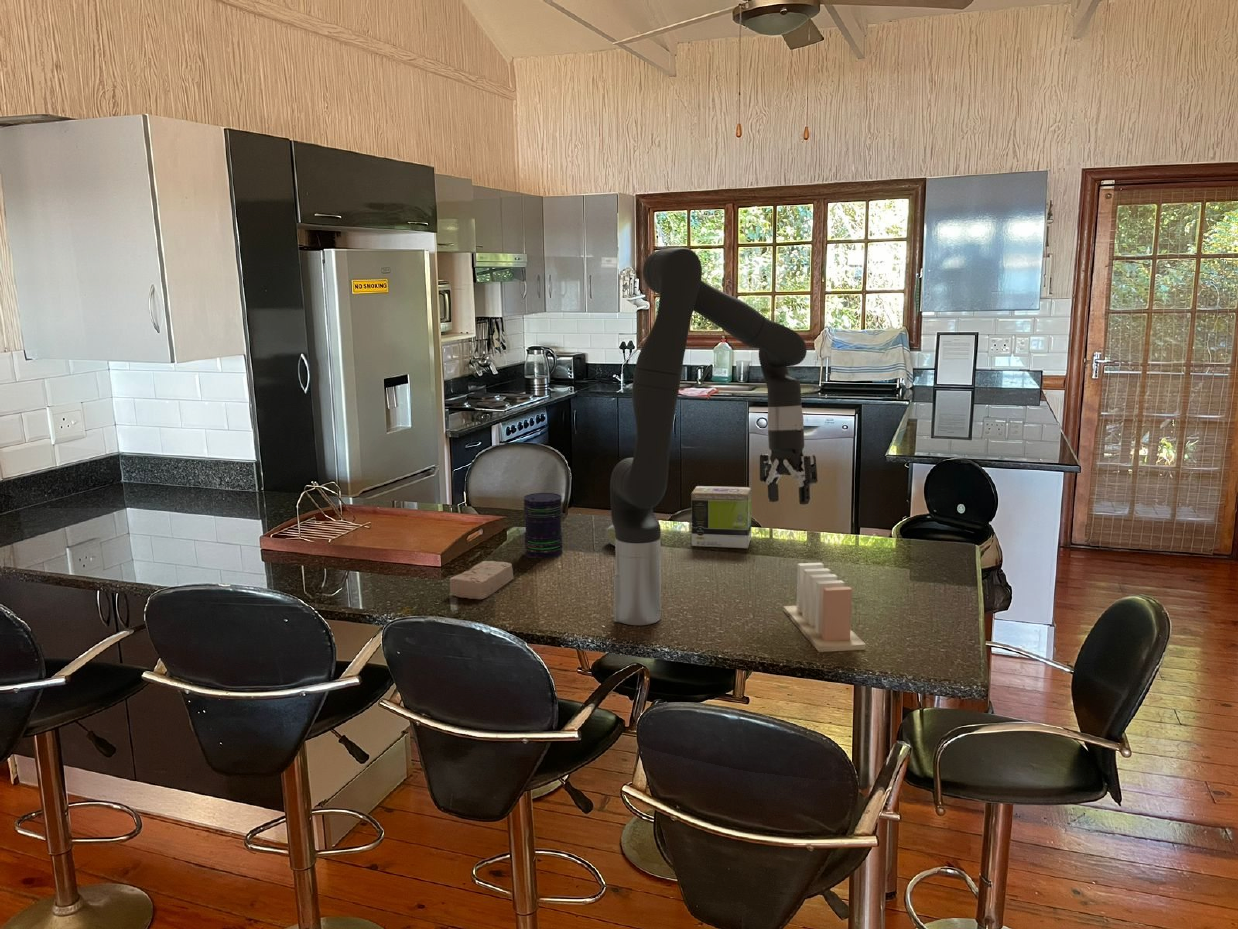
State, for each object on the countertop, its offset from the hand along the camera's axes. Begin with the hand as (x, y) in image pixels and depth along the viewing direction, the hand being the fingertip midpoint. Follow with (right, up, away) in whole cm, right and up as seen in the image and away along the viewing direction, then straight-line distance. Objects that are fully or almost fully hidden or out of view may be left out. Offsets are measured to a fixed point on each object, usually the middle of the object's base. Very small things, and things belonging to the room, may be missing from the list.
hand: (789, 502), depth 200 cm
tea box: (-9, -13, +49) cm, 51 cm away
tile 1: (+3, -22, -7) cm, 23 cm away
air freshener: (-35, -14, +47) cm, 60 cm away
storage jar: (-56, -15, +41) cm, 71 cm away
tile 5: (+5, -25, -22) cm, 34 cm away
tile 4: (+4, -24, -18) cm, 31 cm away
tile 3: (+4, -24, -15) cm, 28 cm away
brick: (-68, -21, +13) cm, 72 cm away
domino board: (+4, -25, -14) cm, 29 cm away
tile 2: (+3, -23, -11) cm, 25 cm away
